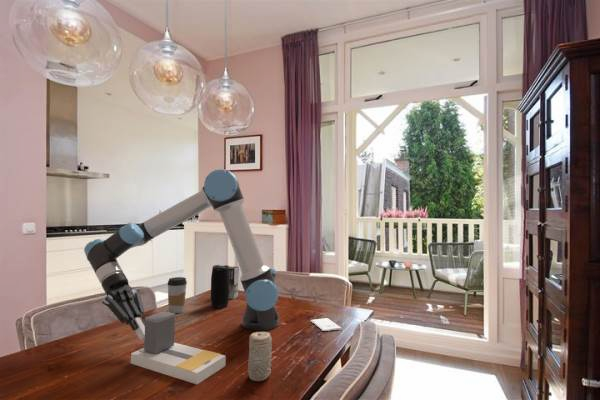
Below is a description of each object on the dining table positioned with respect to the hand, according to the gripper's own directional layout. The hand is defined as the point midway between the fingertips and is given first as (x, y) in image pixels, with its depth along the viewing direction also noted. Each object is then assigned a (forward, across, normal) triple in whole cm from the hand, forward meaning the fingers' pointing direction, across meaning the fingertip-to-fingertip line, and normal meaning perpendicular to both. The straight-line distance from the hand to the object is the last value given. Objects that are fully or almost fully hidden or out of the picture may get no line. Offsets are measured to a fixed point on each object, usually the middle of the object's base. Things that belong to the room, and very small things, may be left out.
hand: (144, 336), depth 105 cm
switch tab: (+6, 0, +3) cm, 7 cm away
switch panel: (+14, 0, +6) cm, 16 cm away
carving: (+33, -5, +24) cm, 41 cm away
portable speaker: (-5, -54, -14) cm, 56 cm away
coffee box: (-10, -70, -19) cm, 73 cm away
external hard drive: (+34, -53, +25) cm, 68 cm away
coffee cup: (-13, -38, -22) cm, 46 cm away
